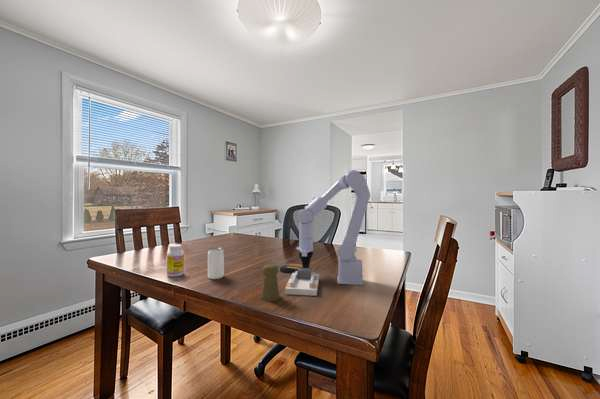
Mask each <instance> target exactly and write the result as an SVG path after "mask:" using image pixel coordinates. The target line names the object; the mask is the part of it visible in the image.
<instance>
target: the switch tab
mask: <svg viewBox="0 0 600 399" xmlns="http://www.w3.org/2000/svg"><path fill="white" fill-rule="evenodd" d="M311 274H312V268H311V267H310V268H299V269H298V271H297V278H298V279H310V278H311Z"/></svg>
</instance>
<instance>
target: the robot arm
mask: <svg viewBox="0 0 600 399" xmlns="http://www.w3.org/2000/svg"><path fill="white" fill-rule="evenodd" d="M350 188H351V189H352V191H353V192H354V193H355V195H356V201H355V203H354V206H353V211H352V213H351V217H350V220H349V223H348V226H347V229H346V234H345V237H344V239H343V241H342V244H341V245H339V247H338V249H337V255H338V257H337V259H338V260H337V261H338V263H337V264H338V267H337V268H338V273H337V274H338V276H336V279H337V281H336V282H337V284H338V285H354V286H355V285H356V286H357V285H358V286H363V277H364V276H363V274H364V273H363V261H362V259H358V258H357V257H356V253H357V251H358V250H357V248H358V247H357V242H358V237H359V234H360V230H361V228H362V224H363V221H364V217H365V214H366V211H367V208H368V204H369V201H370V198H371V191H370V190H369V186H368V183H367V179H366V178H365V177H364V176H363V174H361V173H360V171H358V170H355V169H353V170H350V171H348V172H346V174H345V175H343V176H341V177H340V178H339V179H338V180H337V181H336V182H335V183H333V185H332V186H330V188H329V189H328V190H327V191H326V192H325V193H323V195H322V196H315V197H313V198H312V201H311V202H310V203H309V204H308V205H305V206H304V208H303V209H300V210H299V212H298V214H297V220H298V221H299V230H298V231H299V232H298V233H299V234H298V235H299V236H298V237H299V239H298V242H299V243H298V244H299V245H298V246H297V247H296V250H298V251H299V253H298V256H299V259H300V260H301V265H303V268H309V266H311V259H312V257H313V255H314V252H313V251H314V226H313V224H314V222H313V221H315V218H316V217H317V216H318V215H320V213H321V212H323V211H324V210H325V209H326V208H327V207H328V202H329V201H331V200H332V199H334V198H333V197H335V196H336V195H338V194H339V193H340V192H341V191H342V190H346V189H350Z"/></svg>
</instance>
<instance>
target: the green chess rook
mask: <svg viewBox="0 0 600 399" xmlns="http://www.w3.org/2000/svg"><path fill="white" fill-rule="evenodd" d="M278 272H279V267H278V266H277V264H274V263H273V264H272V263H269V264H265V265H264V266H263V268H262V274H263V276H264V277H263V283H262V292H261V300H263V301H264V302H265V301H266V302H274V301H277V300H279V299H280V293H279V292H280V291H279V285H278V277H277V275H278Z"/></svg>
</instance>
